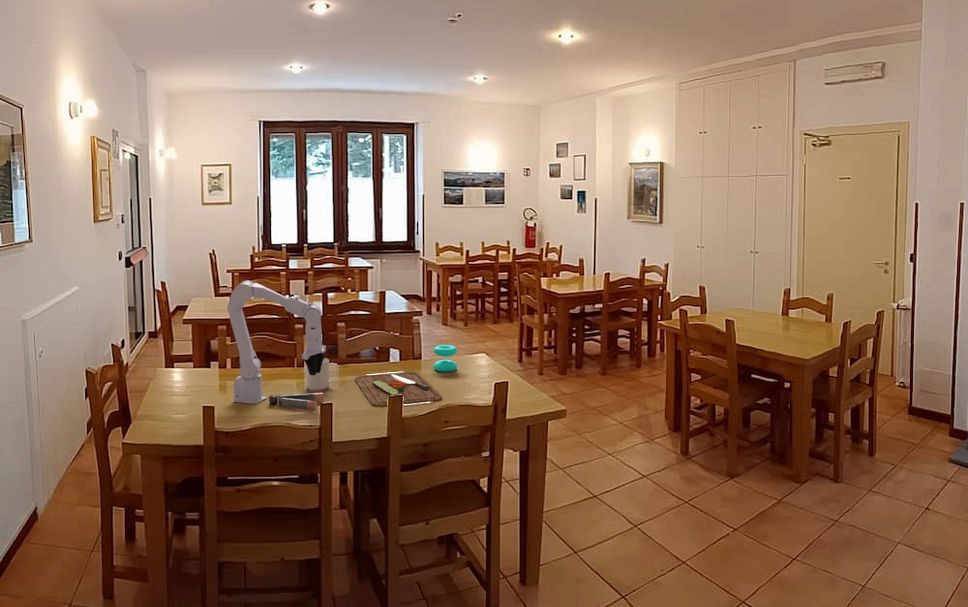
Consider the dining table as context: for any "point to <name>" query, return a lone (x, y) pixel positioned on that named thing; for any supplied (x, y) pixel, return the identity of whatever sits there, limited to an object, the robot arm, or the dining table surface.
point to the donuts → (445, 351)
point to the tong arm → (302, 397)
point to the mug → (320, 377)
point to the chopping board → (397, 388)
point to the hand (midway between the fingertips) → (314, 373)
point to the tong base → (293, 403)
